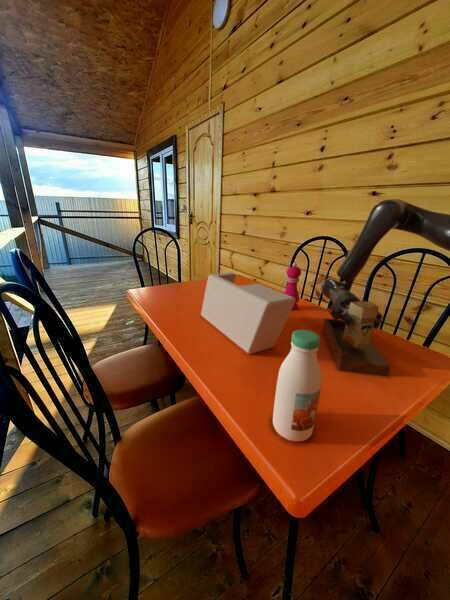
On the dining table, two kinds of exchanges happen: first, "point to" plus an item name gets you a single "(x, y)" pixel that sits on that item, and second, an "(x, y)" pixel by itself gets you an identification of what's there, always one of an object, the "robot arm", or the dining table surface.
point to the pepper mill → (293, 283)
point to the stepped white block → (246, 311)
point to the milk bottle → (298, 388)
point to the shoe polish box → (360, 323)
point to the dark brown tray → (353, 352)
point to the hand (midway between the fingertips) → (363, 324)
